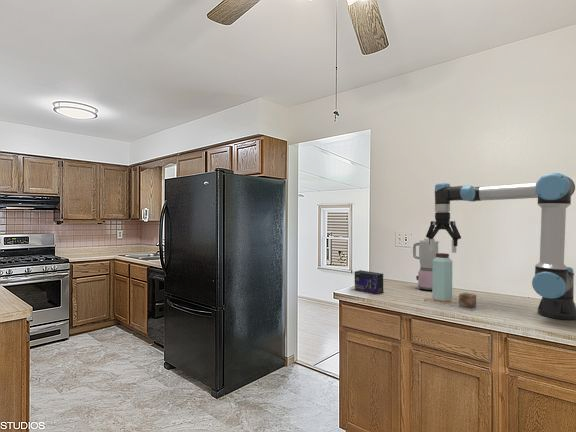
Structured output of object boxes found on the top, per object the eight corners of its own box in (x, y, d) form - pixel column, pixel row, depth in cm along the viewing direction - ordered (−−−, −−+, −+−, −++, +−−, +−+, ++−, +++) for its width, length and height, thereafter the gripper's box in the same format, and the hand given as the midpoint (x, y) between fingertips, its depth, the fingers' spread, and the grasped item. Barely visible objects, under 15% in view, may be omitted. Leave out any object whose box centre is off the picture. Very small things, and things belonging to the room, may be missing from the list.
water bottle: (454, 302, 185) (454, 255, 185) (434, 301, 187) (434, 254, 187) (449, 298, 195) (450, 253, 195) (430, 297, 197) (430, 252, 197)
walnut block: (476, 306, 178) (476, 294, 178) (471, 308, 174) (471, 296, 174) (463, 304, 182) (463, 292, 182) (459, 306, 178) (459, 294, 178)
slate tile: (488, 309, 175) (488, 307, 175) (471, 312, 169) (471, 311, 169) (464, 303, 187) (464, 302, 187) (447, 306, 180) (447, 305, 180)
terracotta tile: (460, 303, 188) (460, 301, 188) (444, 305, 182) (444, 304, 182) (439, 298, 200) (439, 296, 200) (423, 300, 194) (423, 299, 194)
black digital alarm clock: (354, 290, 220) (354, 271, 220) (360, 289, 225) (360, 270, 225) (377, 294, 208) (377, 274, 208) (383, 293, 212) (383, 273, 212)
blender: (441, 289, 224) (441, 238, 224) (436, 292, 214) (436, 239, 214) (415, 286, 233) (416, 237, 233) (410, 289, 223) (410, 238, 224)
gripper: (468, 211, 182) (468, 253, 182) (428, 212, 204) (428, 249, 204) (458, 211, 178) (459, 253, 178) (419, 212, 200) (419, 250, 200)
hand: (442, 251), depth 191 cm, fingers open, 13 cm apart
